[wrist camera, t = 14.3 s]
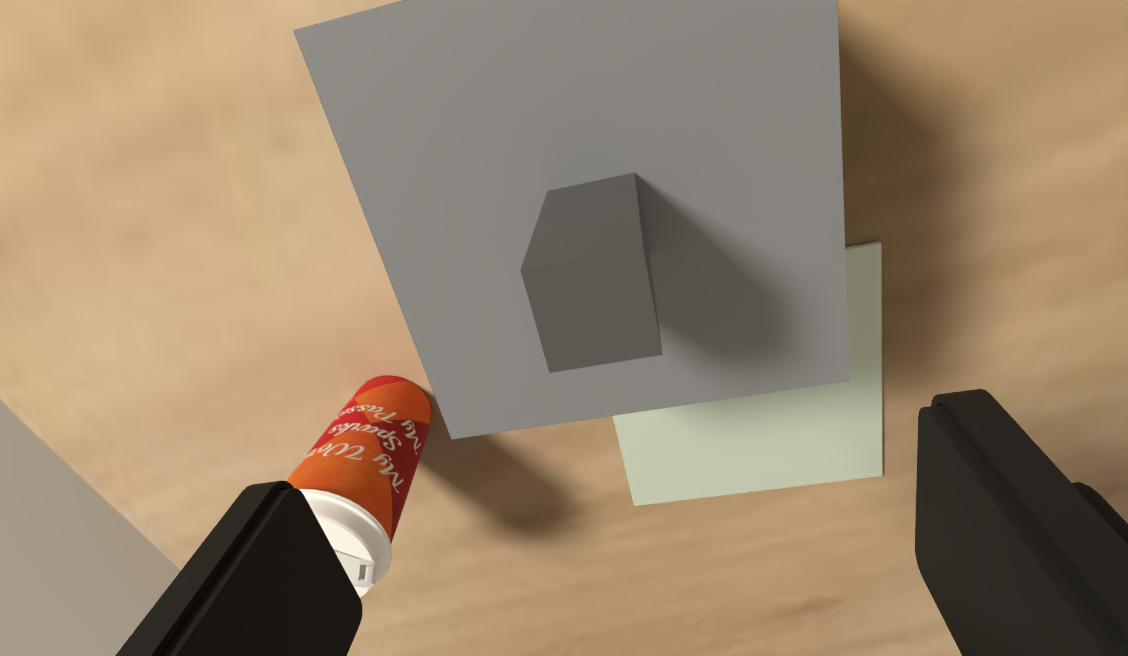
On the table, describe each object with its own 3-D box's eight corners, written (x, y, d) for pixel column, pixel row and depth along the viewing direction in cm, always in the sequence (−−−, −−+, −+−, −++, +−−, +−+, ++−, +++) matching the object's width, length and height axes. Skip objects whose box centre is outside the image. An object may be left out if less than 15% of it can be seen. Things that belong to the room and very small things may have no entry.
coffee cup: (454, 376, 47) (390, 527, 33) (439, 460, 51) (377, 624, 37) (343, 350, 46) (234, 492, 33) (336, 436, 50) (237, 594, 37)
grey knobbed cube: (728, -64, 33) (959, -184, 11) (756, 228, 40) (930, 514, 18) (436, 14, 35) (146, 46, 13) (511, 275, 42) (402, 572, 21)
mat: (879, 241, 40) (881, 243, 39) (880, 472, 48) (882, 475, 48) (584, 294, 43) (584, 297, 42) (634, 502, 51) (634, 505, 51)
